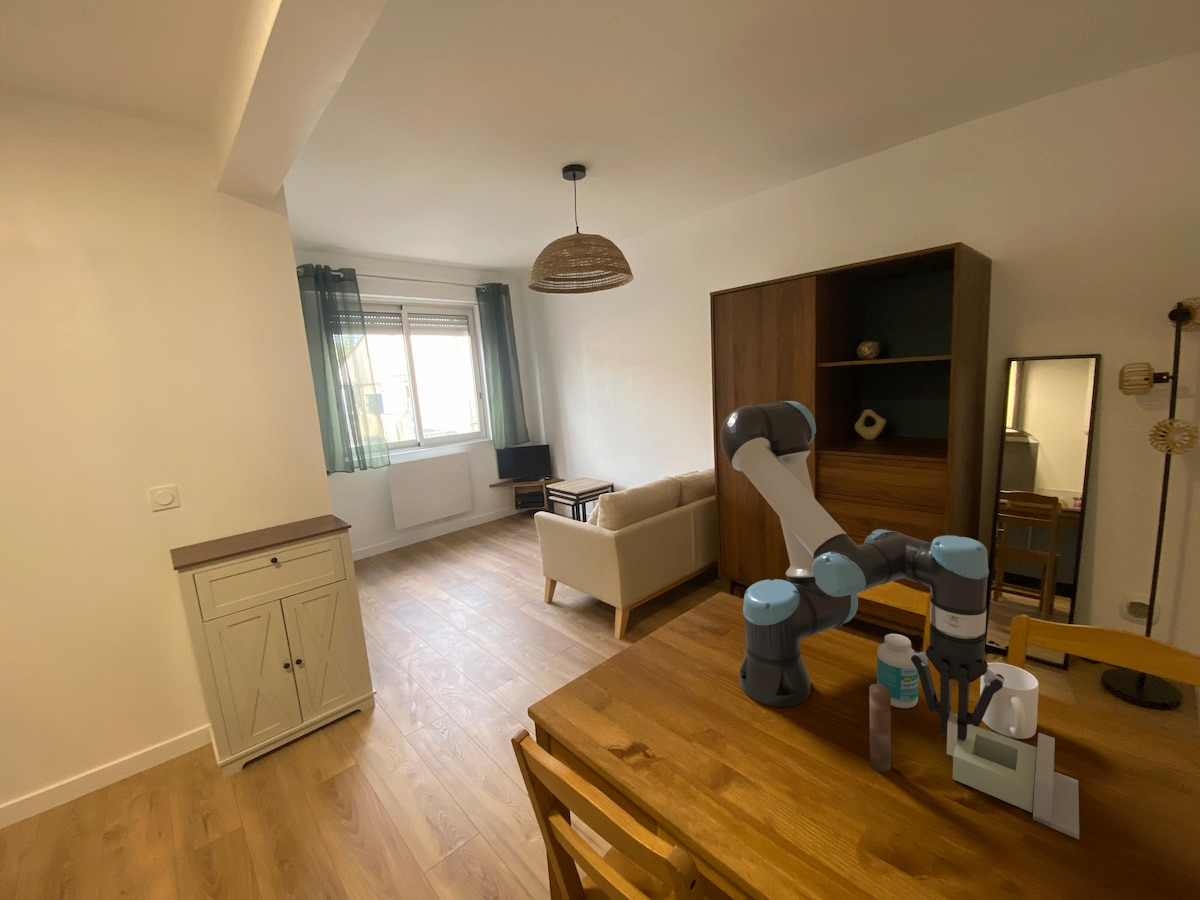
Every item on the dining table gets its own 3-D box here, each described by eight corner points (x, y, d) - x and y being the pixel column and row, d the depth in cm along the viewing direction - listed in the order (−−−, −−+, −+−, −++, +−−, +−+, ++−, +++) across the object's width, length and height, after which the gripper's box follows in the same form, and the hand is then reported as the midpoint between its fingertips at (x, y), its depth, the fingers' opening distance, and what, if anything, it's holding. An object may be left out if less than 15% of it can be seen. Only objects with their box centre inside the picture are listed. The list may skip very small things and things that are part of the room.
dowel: (867, 767, 84) (867, 691, 82) (872, 756, 87) (872, 681, 84) (888, 776, 82) (887, 698, 80) (892, 764, 84) (892, 688, 82)
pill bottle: (907, 715, 95) (907, 654, 93) (870, 696, 102) (869, 638, 100) (925, 699, 99) (925, 640, 97) (888, 682, 106) (888, 626, 104)
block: (952, 778, 80) (953, 755, 80) (961, 743, 87) (962, 721, 87) (1032, 812, 73) (1033, 787, 73) (1035, 771, 80) (1036, 747, 80)
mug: (1050, 761, 82) (1053, 708, 81) (989, 747, 86) (991, 696, 85) (1028, 715, 93) (1030, 667, 91) (975, 705, 97) (976, 658, 95)
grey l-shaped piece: (1032, 819, 73) (1034, 779, 72) (1036, 769, 81) (1038, 732, 80) (1079, 839, 69) (1081, 797, 68) (1077, 784, 77) (1080, 746, 76)
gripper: (907, 625, 82) (905, 746, 86) (1004, 651, 73) (997, 784, 77) (916, 608, 87) (914, 722, 91) (1008, 630, 78) (1002, 756, 82)
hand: (952, 750), depth 84 cm, fingers closed
